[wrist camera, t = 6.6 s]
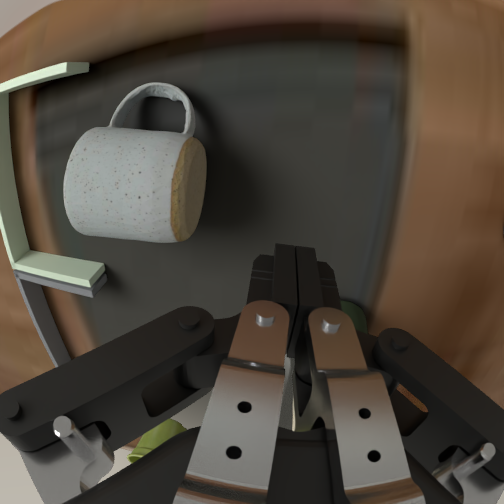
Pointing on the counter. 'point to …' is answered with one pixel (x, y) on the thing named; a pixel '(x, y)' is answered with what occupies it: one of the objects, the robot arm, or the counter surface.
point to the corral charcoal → (41, 311)
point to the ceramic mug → (137, 177)
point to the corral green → (7, 204)
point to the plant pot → (155, 438)
